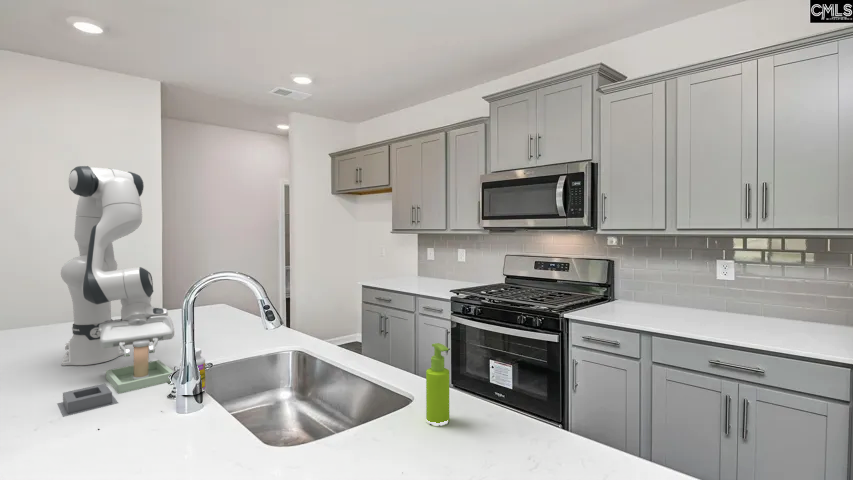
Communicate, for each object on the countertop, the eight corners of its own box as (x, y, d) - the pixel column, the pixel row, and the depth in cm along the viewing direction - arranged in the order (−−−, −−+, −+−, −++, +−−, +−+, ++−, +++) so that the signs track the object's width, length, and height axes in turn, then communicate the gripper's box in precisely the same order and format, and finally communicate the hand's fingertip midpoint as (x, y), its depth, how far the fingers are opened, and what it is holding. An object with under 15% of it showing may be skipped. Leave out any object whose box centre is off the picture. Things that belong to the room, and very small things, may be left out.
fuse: (131, 378, 141) (131, 341, 141) (147, 375, 144) (147, 339, 144) (134, 382, 138) (134, 344, 138) (150, 379, 141) (151, 341, 141)
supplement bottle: (195, 397, 129) (194, 354, 128) (175, 395, 130) (174, 352, 130) (210, 389, 135) (209, 347, 135) (191, 387, 137) (190, 346, 136)
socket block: (57, 406, 123) (56, 392, 122) (109, 394, 131) (109, 381, 131) (63, 420, 114) (62, 405, 114) (118, 406, 123) (118, 392, 123)
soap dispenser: (435, 430, 108) (435, 349, 107) (422, 419, 114) (422, 342, 114) (455, 425, 111) (455, 346, 110) (442, 414, 117) (442, 339, 116)
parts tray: (106, 381, 142) (105, 370, 142) (159, 369, 153) (158, 359, 153) (118, 396, 129) (118, 385, 129) (175, 383, 140) (175, 372, 140)
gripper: (98, 316, 140) (98, 354, 132) (172, 308, 152) (176, 343, 144) (98, 327, 144) (99, 365, 136) (171, 318, 155) (175, 353, 148)
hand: (139, 353), depth 140 cm, fingers open, 5 cm apart
